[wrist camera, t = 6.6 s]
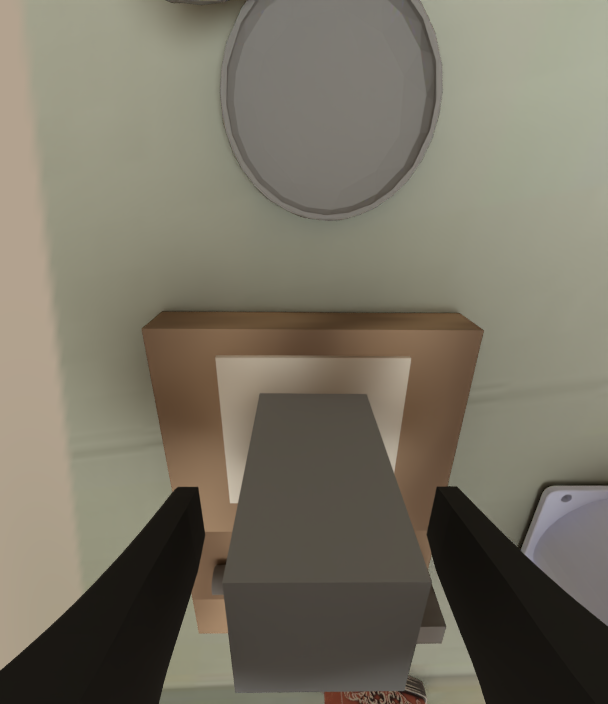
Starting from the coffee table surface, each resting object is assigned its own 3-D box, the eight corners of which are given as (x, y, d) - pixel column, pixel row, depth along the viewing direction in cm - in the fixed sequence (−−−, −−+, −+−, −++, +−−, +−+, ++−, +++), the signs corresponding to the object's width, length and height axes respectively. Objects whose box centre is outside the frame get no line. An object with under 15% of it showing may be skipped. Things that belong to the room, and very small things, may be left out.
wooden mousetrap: (459, 313, 14) (536, 368, 10) (403, 594, 21) (432, 701, 17) (162, 311, 14) (95, 366, 9) (207, 595, 21) (182, 705, 17)
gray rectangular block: (358, 476, 15) (404, 691, 8) (262, 476, 15) (235, 693, 8) (366, 393, 13) (432, 582, 7) (259, 393, 13) (221, 583, 7)
